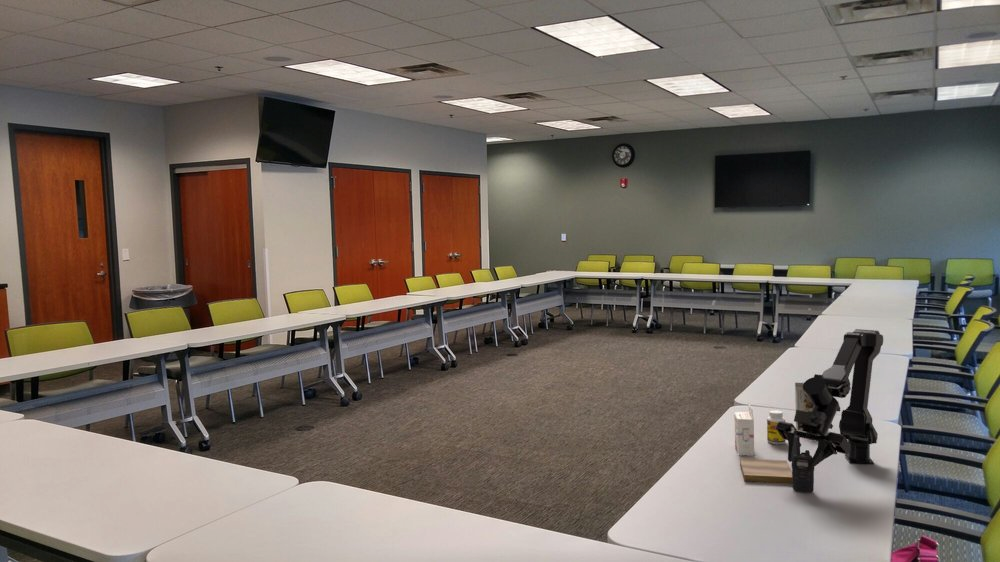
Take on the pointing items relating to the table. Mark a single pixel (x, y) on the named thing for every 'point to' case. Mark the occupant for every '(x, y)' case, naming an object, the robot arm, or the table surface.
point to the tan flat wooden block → (766, 471)
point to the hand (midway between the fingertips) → (800, 463)
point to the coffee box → (801, 401)
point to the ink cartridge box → (744, 432)
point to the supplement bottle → (771, 424)
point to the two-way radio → (802, 470)
